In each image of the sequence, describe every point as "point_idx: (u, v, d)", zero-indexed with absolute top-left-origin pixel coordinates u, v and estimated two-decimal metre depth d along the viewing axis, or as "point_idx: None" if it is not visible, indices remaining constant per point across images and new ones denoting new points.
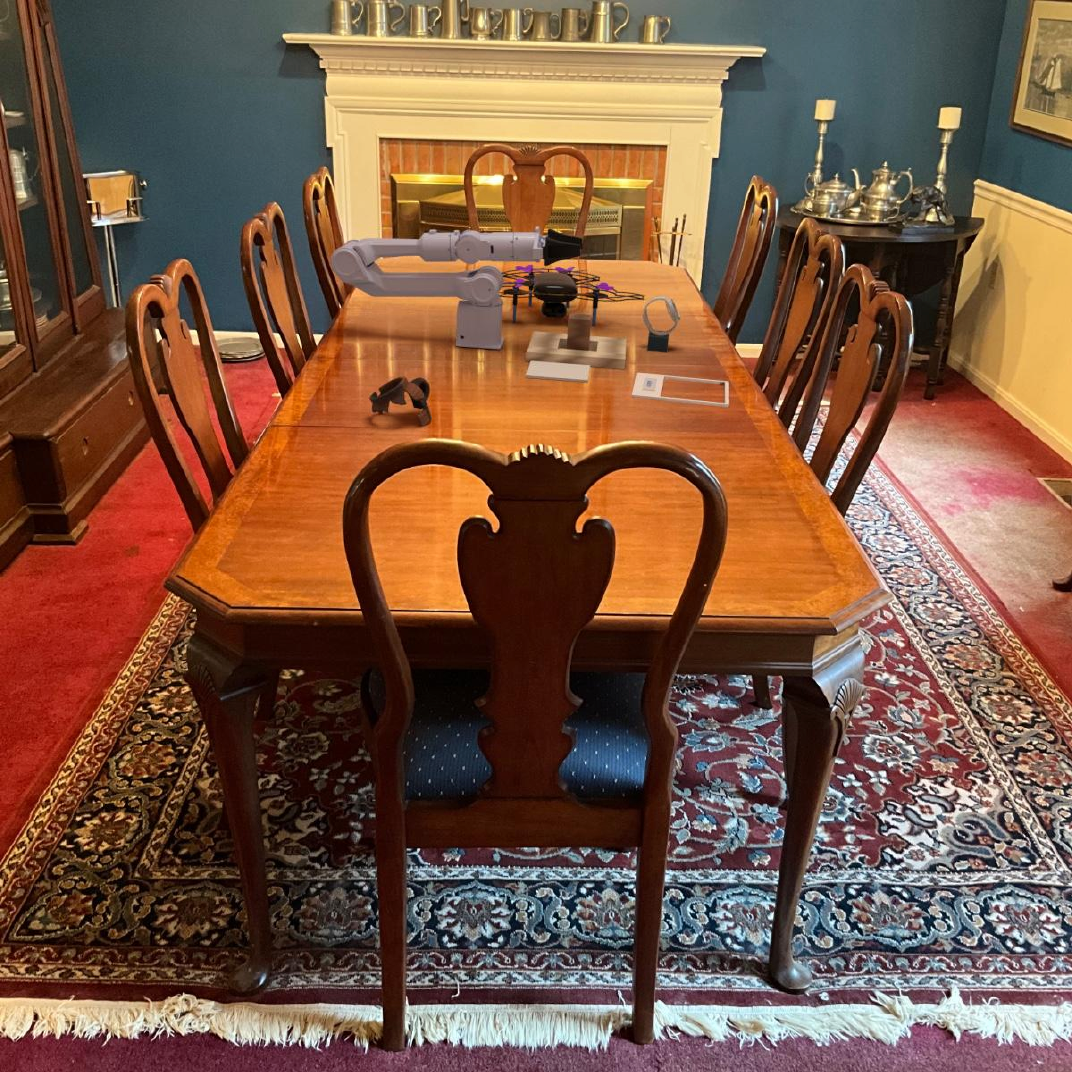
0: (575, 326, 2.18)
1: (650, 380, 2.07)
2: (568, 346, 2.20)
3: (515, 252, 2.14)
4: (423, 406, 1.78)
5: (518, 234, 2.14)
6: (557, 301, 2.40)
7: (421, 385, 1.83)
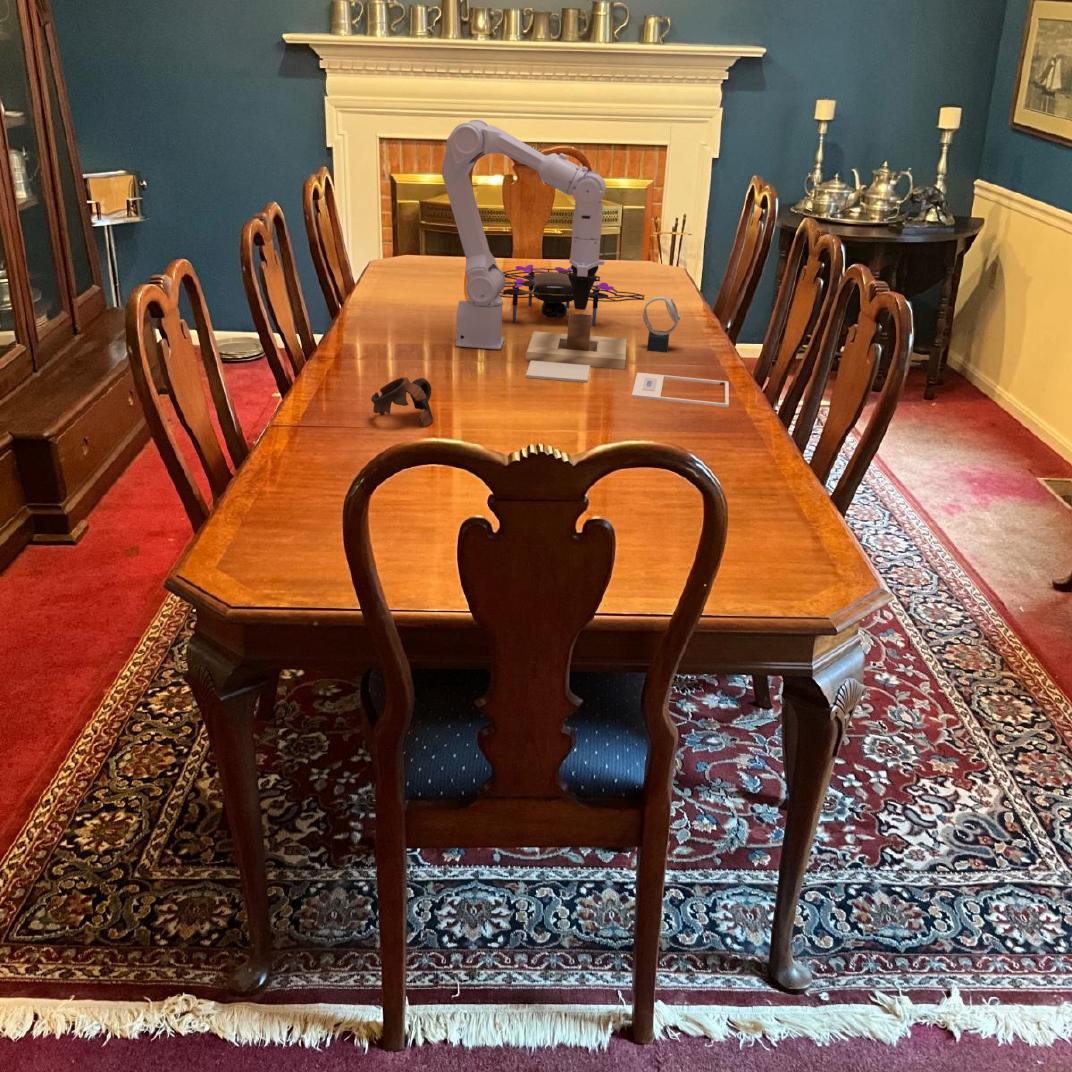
0: (575, 326, 2.18)
1: (650, 380, 2.07)
2: (568, 346, 2.20)
3: (582, 241, 2.10)
4: (425, 407, 1.78)
5: (598, 243, 2.11)
6: (557, 301, 2.40)
7: (423, 386, 1.83)
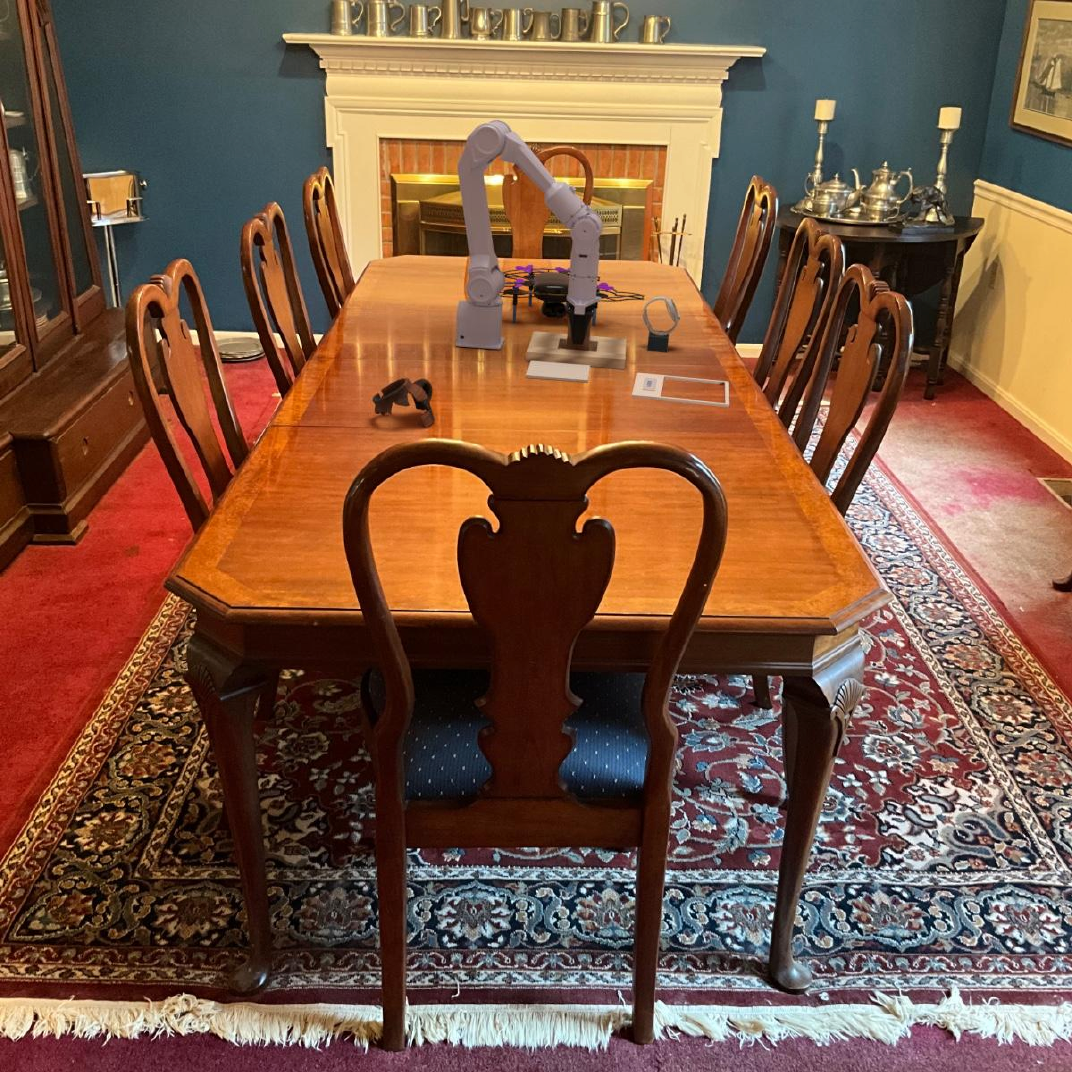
0: None
1: (650, 380, 2.07)
2: (568, 346, 2.20)
3: (579, 279, 2.13)
4: (426, 407, 1.77)
5: (595, 281, 2.15)
6: (557, 301, 2.40)
7: (424, 386, 1.83)
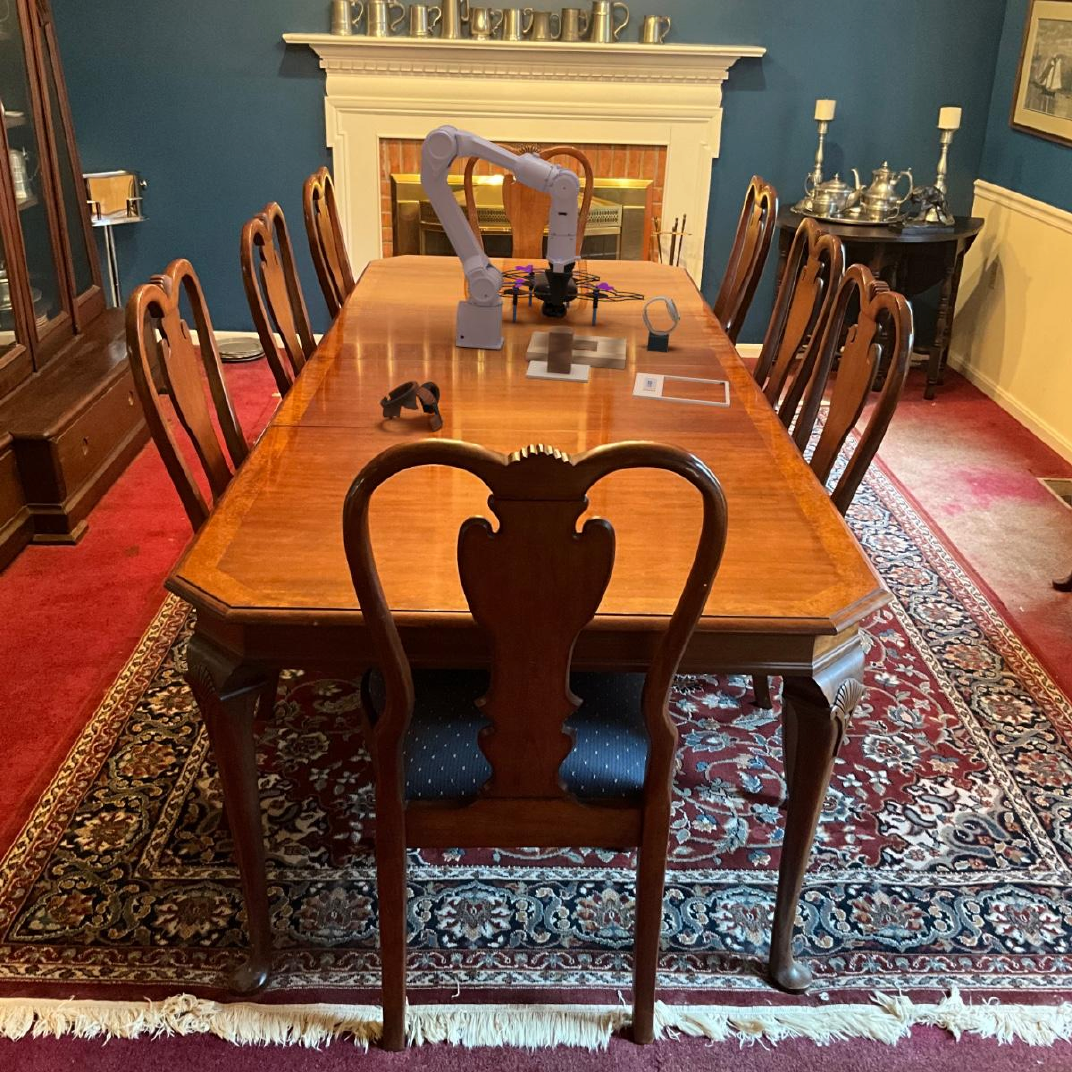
0: (556, 341, 2.05)
1: (650, 380, 2.07)
2: (549, 361, 2.07)
3: (558, 238, 2.12)
4: (435, 411, 1.76)
5: (574, 240, 2.13)
6: None
7: (431, 389, 1.81)
